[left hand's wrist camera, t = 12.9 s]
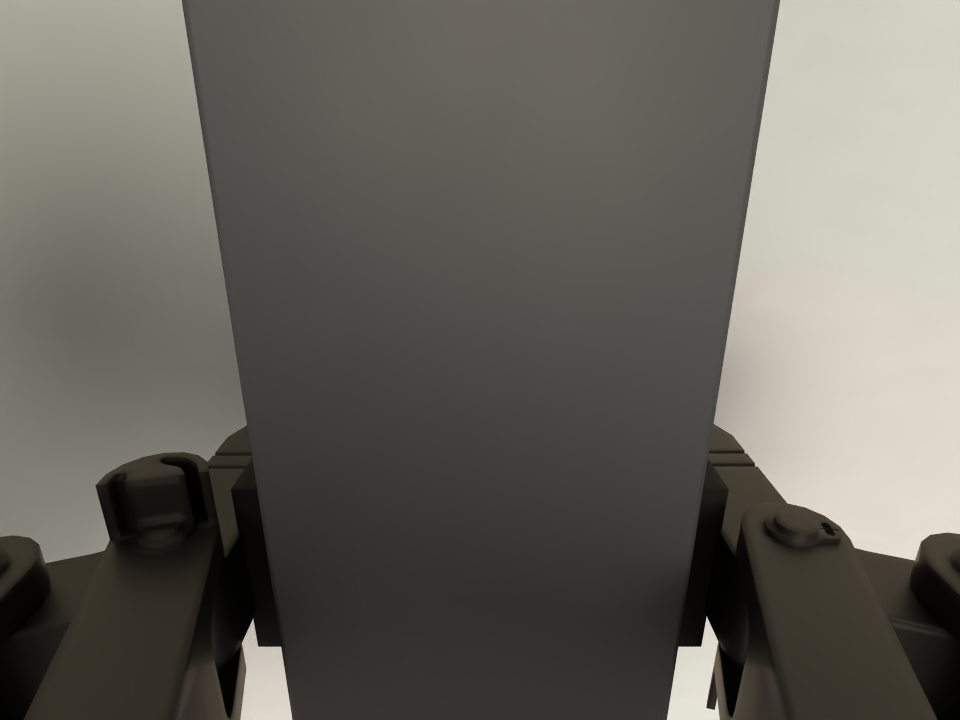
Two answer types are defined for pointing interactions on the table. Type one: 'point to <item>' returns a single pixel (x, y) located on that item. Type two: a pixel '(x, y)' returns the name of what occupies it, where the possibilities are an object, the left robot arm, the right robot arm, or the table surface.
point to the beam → (480, 332)
